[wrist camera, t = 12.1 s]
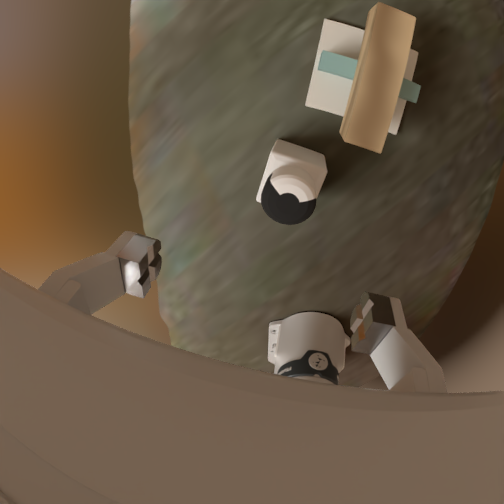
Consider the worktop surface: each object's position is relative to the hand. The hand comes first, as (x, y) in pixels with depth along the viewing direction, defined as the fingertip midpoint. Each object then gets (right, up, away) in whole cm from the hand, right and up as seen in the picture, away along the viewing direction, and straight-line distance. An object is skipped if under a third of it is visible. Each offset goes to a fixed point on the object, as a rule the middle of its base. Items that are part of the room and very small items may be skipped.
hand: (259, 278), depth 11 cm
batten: (+13, +20, +14) cm, 28 cm away
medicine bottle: (+6, +13, +28) cm, 32 cm away
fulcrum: (+14, +24, +18) cm, 33 cm away
